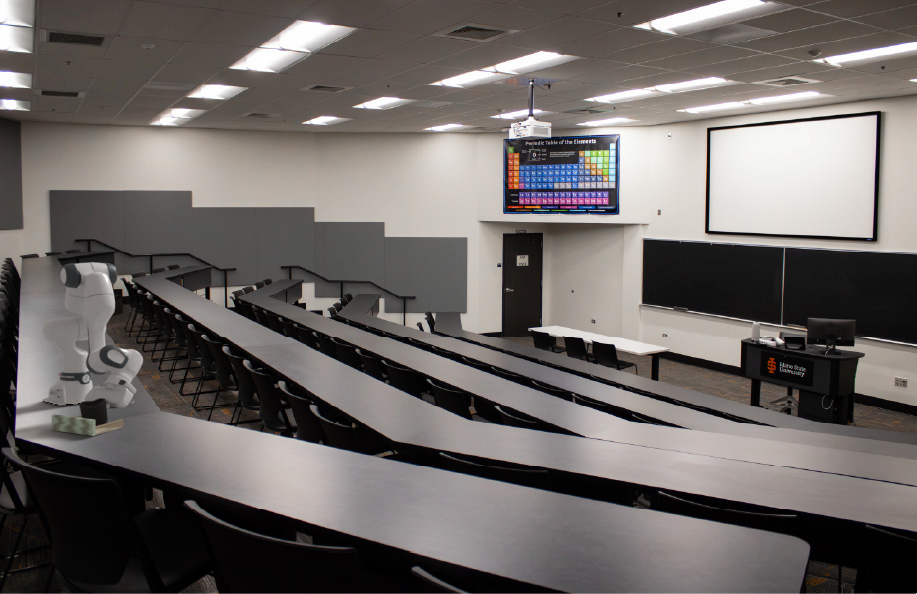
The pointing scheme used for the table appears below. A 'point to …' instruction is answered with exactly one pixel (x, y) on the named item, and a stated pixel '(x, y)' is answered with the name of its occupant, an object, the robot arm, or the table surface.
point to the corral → (82, 425)
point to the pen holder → (95, 411)
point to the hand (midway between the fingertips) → (97, 413)
